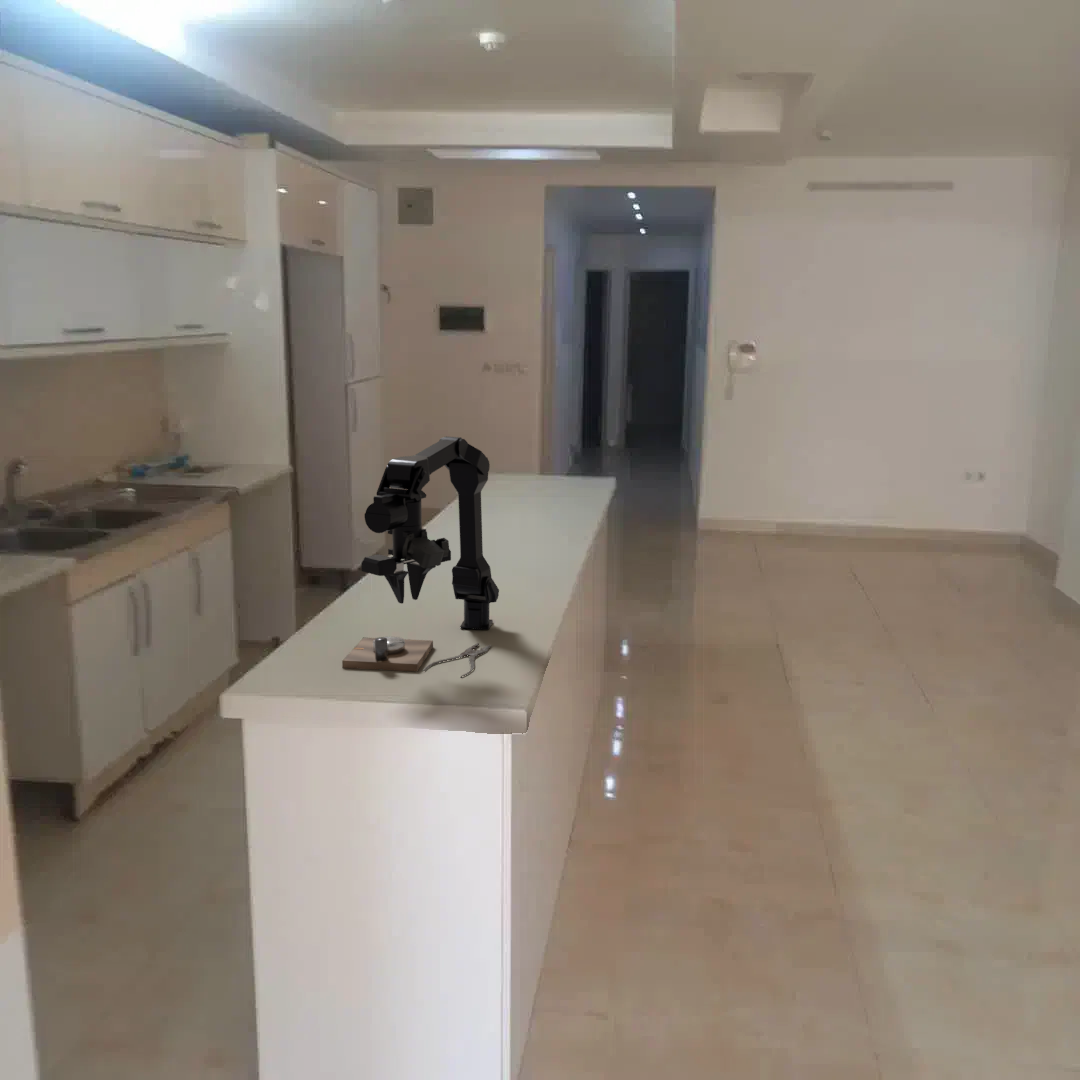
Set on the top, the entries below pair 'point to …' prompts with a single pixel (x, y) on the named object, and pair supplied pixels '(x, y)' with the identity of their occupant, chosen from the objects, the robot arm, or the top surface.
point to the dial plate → (401, 661)
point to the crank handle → (387, 646)
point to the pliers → (469, 652)
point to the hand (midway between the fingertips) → (408, 601)
